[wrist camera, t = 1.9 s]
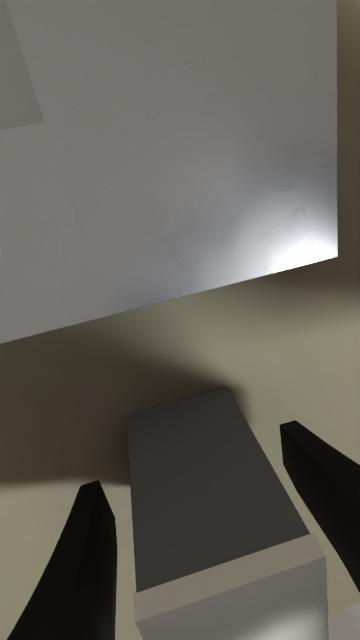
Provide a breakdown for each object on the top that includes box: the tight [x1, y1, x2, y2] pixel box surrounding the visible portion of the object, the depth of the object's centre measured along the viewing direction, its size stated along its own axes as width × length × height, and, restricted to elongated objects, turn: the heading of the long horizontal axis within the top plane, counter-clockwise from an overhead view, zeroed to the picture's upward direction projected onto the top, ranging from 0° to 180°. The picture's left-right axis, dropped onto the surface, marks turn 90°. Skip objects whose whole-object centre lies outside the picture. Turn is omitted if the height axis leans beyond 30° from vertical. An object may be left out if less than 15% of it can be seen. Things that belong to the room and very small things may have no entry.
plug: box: [127, 387, 328, 640], centre depth 10 cm, size 4×4×6 cm
